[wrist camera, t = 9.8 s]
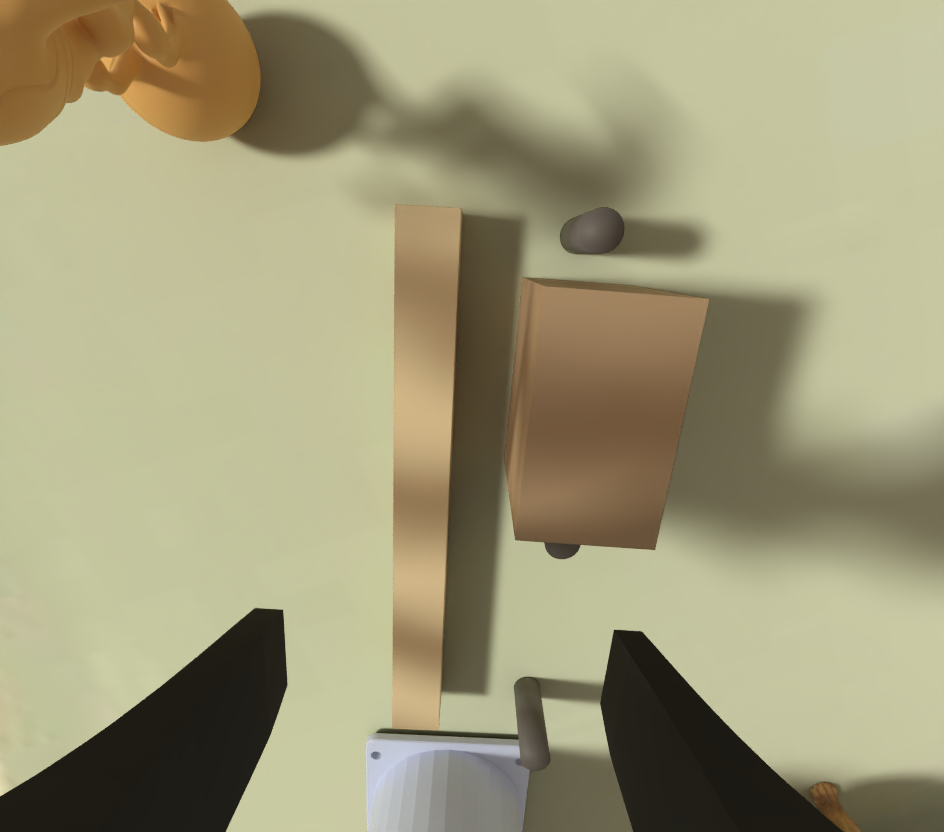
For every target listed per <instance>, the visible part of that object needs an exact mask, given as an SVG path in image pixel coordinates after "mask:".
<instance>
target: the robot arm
mask: <svg viewBox="0 0 944 832" xmlns="http://www.w3.org/2000/svg"><path fill="white" fill-rule="evenodd" d="M286 688H287V670H286V652H285V634H284V617H283V610H277V609H260V608H255V609H253V610H252V611H251V612H250V613H249V614H247V615H246V616H245V617H244V618H242V619H241V620H240V621H239V622H238V623H236V624H235V625H234V626H233V627H232V628H231V629H229V630H228V631H227V632H226V633H225V634H224V635H222V636H221V637H220V638H219V639H218V640H216V641H215V642H214V643H213V644H212V645H211V646H209V647H208V648H207V649H206V650H205V651H203V652H202V653H201V654H200V655H199V656H198V657H196V658H195V659H194V660H193V661H191V662H190V663H189V664H188V665H187V666H185V667H184V668H183V669H182V670H180V671H179V672H178V673H177V674H176V675H174V676H173V677H172V678H171V679H169V680H168V681H167V682H166V683H165V684H163V685H162V686H161V687H160V688H158V689H157V690H156V691H154V692H153V693H152V694H150V695H149V696H148V697H146V698H145V699H144V700H142V701H141V702H140V703H139V704H137V705H136V706H135V707H133V708H132V709H131V710H129V711H128V712H127V713H125V714H124V715H123V716H121V717H120V718H119V719H118V720H116V721H115V722H113V723H112V724H111V725H109V726H108V727H106V728H105V729H104V730H102V731H101V732H99V733H98V734H97V735H95V736H94V737H92V738H91V739H89V740H88V741H87V742H85V743H84V744H82V745H81V746H79V747H78V748H76V749H75V750H73V751H72V752H70V753H69V754H67V755H66V756H64V757H63V758H61V759H60V760H58V761H57V762H55V763H54V764H52V765H51V766H49V767H48V768H46V769H44V770H43V771H41V772H40V773H38V774H37V775H35V776H34V777H32V778H30V779H29V780H27V781H25V782H24V783H22V784H20V785H19V786H17V787H15V788H14V789H12V790H10V791H9V792H7V793H5V794H4V795H2V796H0V832H226V830H227V827H228V825H229V823H230V821H231V819H232V817H233V815H234V813H235V810H236V808H237V806H238V804H239V802H240V800H241V798H242V795H243V793H244V791H245V789H246V787H247V785H248V783H249V781H250V778H251V776H252V774H253V772H254V770H255V768H256V765H257V763H258V761H259V759H260V757H261V755H262V752H263V750H264V748H265V746H266V744H267V741H268V739H269V737H270V734H271V732H272V729H273V726H274V723H275V720H276V717H277V715H278V712H279V709H280V706H281V703H282V700H283V697H284V694H285V691H286ZM600 704H601V710H602V715H603V721H604V726H605V732H606V736H607V741H608V746H609V751H610V756H611V759H612V763H613V766H614V769H615V773H616V776H617V779H618V783H619V786H620V789H621V793H622V796H623V799H624V803H625V806H626V809H627V812H628V816H629V819H630V822H631V825H632V829H633V832H844V831H842V830H841V829H840V828H839V827H838V826H836V825H835V824H834V823H833V822H831V821H830V820H829V819H828V818H827V817H825V816H824V815H823V814H822V813H821V812H820V811H819V810H817V809H816V808H815V807H814V806H813V805H812V804H811V803H809V802H808V801H807V800H806V799H805V798H804V797H803V796H801V795H800V794H799V793H798V792H797V791H796V790H795V789H793V788H792V787H791V786H790V785H789V784H788V783H787V782H786V781H784V780H783V779H782V778H781V777H780V776H779V775H778V774H777V773H776V772H775V771H774V770H772V769H771V768H770V767H769V766H768V765H767V764H766V763H765V762H764V761H763V760H762V759H761V758H760V757H759V756H758V755H757V754H756V753H755V752H754V751H753V750H752V749H751V748H750V747H749V746H748V745H747V744H746V743H745V742H744V741H743V740H741V739H740V738H739V737H738V736H737V735H736V734H735V733H734V732H733V731H732V729H731V728H730V727H729V726H728V725H727V724H726V723H725V722H724V721H723V720H722V719H721V718H720V717H719V716H718V715H717V714H716V713H715V712H714V711H713V710H712V709H711V708H710V707H709V706H708V705H707V703H706V702H705V701H704V700H703V699H702V698H701V697H700V696H699V695H698V694H697V693H696V692H695V690H694V689H693V688H692V687H691V686H690V685H689V684H688V683H687V682H686V681H685V679H684V678H683V677H682V676H681V675H680V674H679V673H678V672H677V670H676V669H675V668H674V667H673V666H672V665H671V664H670V663H669V661H668V660H667V659H666V658H665V657H664V656H663V655H662V654H661V652H660V651H659V650H658V649H657V648H656V647H655V646H654V644H653V643H652V642H651V641H650V640H649V639H648V638H647V637H646V636H645V634H644V633H643V632H641V631H625V630H614V633H613V638H612V643H611V649H610V654H609V659H608V665H607V670H606V676H605V681H604V686H603V692H602V697H601V702H600ZM529 773H530V770H528V769H526V768H525V767H523V765H522V764H521V761H520V749H519V740H516V739H494V738H472V737H451V736H429V735H407V734H386V733H374V734H372V735H370V736H369V737H368V739H367V743H366V785H367V832H522V830H523V822H524V814H525V805H526V797H527V789H528V781H529Z"/></svg>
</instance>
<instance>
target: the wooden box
mask: <svg viewBox="0 0 944 832" xmlns="http://www.w3.org/2000/svg"><path fill="white" fill-rule="evenodd" d="M708 303H709V299H706V298H701V297H695V296H689V295H683V294H678V293H672V292H666V291H661V290H655V289H649V288H643V287H638V286H629V285H616V284H603V283H590V282H577V281H564V280H551V279H538V278H525V277H523V278H522V288H521V298H520V308H519V317H518V327H517V337H516V347H515V357H514V366H513V376H512V386H511V396H510V406H509V416H508V425H507V435H506V445H505V455H504V462H505V469H506V476H507V484H508V491H509V498H510V505H511V513H512V520H513V527H514V534H515V540H520V541H534V542H548V543H563V544H577V545H591V546H606V547H620V548H635V549H649V550H655V547H656V543H657V538H658V534H659V529H660V524H661V520H662V515H663V511H664V506H665V501H666V497H667V492H668V488H669V483H670V478H671V474H672V469H673V465H674V460H675V455H676V451H677V446H678V442H679V437H680V432H681V428H682V423H683V419H684V414H685V409H686V405H687V400H688V396H689V391H690V386H691V382H692V377H693V373H694V368H695V363H696V359H697V354H698V349H699V345H700V340H701V336H702V331H703V326H704V322H705V317H706V313H707V308H708Z"/></svg>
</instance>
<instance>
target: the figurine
mask: <svg viewBox="0 0 944 832" xmlns="http://www.w3.org/2000/svg"><path fill="white" fill-rule="evenodd" d="M260 85H261V74H260V65H259V60H258V55H257V52H256V49H255V46H254V43H253V40H252V38H251V36H250V34H249V32H248V30H247V28H246V26H245V24H244V23H243V21H242V19H241V18H240V16H239V15H238V13H237V12H236V11H235V9H234V8H233V7H232V6H231V5H230V3H229V2H228V1H227V0H0V146H3V145H8V144H13V143H17V142H20V141H23V140H26V139H29V138H31V137H33V136H35V135H36V134H38V133H39V132H40V131H42V130H43V129H44V128H45V127H46V126H47V125H48V124H49V123H50V122H52V121H53V120H54V119H55V118H56V117H57V116H58V115H59V114H60V113H61V111H62V110H63V108H64V106H65V103H72V102H75V101H77V100H78V99H79V98H80V97H81V95H82V92H83V88H84V86H85V87H87V88H88V89H91V90H93V91H99V92H102V91H108V92H110V93H112V94H115V95H120V96H121V98H122V99H123V100H124V101H125V102H126V104H127V105H128V106H129V107H130V108H131V109H132V110H133V111H134V112H135V113H137V114H138V115H139V116H140V117H141V118H143V119H144V120H145V121H147V122H148V123H149V124H151V125H152V126H154V127H156V128H157V129H159V130H161V131H163V132H165V133H167V134H169V135H172V136H175V137H178V138H181V139H185V140H190V141H201V142H204V141H214V140H219V139H222V138H225V137H227V136H230V135H231V134H233V133H235V132H236V131H238V130H239V129H240V128H241V127H242V126H243V125H244V124H245V123H246V122H247V121H248V120H249V118H250V117H251V115H252V113H253V112H254V109H255V107H256V105H257V102H258V98H259V93H260Z"/></svg>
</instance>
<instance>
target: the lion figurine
mask: <svg viewBox="0 0 944 832" xmlns="http://www.w3.org/2000/svg"><path fill="white" fill-rule="evenodd" d="M810 793H811V796H812V797H813V799H814V800H815V804H816V806H817V808H818V809H819V810H820V811H821V812H822V813H823V815H824V816H825V817H827V818H828V819H829V820H830V821H831V822H833V823H834V824H835V825H836V826H838V827H839V828H840V829H841V830H842V831H844V832H861V830H860V829H859V828H858V826H857V825H856V824H855V823H854V822H853V821H852V820H851V819H850V818H849V816H848V815H847V814H846V812H845V811H844V810H843V808H842V807H841V805H840V803H839V801H838V798H837V797H838V792H837V790H836V788H835V787H834V786H833V785H832V784H831V783H827V782H819V783H817V784H815V785H814V786H812V787H811V788H810Z"/></svg>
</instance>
